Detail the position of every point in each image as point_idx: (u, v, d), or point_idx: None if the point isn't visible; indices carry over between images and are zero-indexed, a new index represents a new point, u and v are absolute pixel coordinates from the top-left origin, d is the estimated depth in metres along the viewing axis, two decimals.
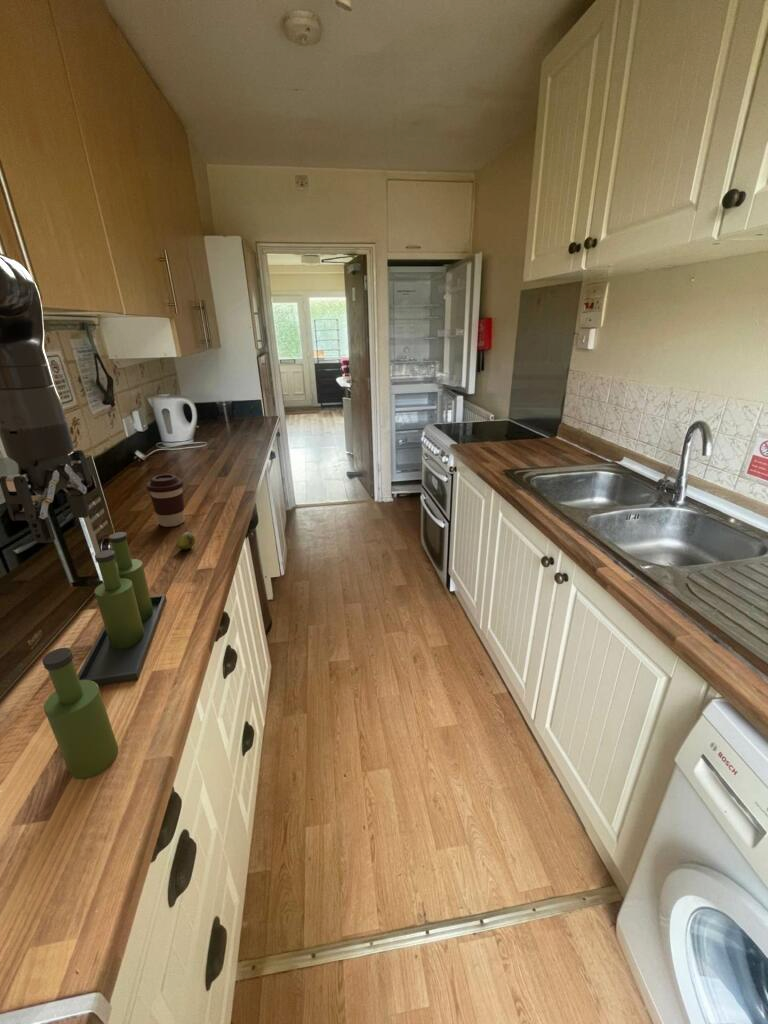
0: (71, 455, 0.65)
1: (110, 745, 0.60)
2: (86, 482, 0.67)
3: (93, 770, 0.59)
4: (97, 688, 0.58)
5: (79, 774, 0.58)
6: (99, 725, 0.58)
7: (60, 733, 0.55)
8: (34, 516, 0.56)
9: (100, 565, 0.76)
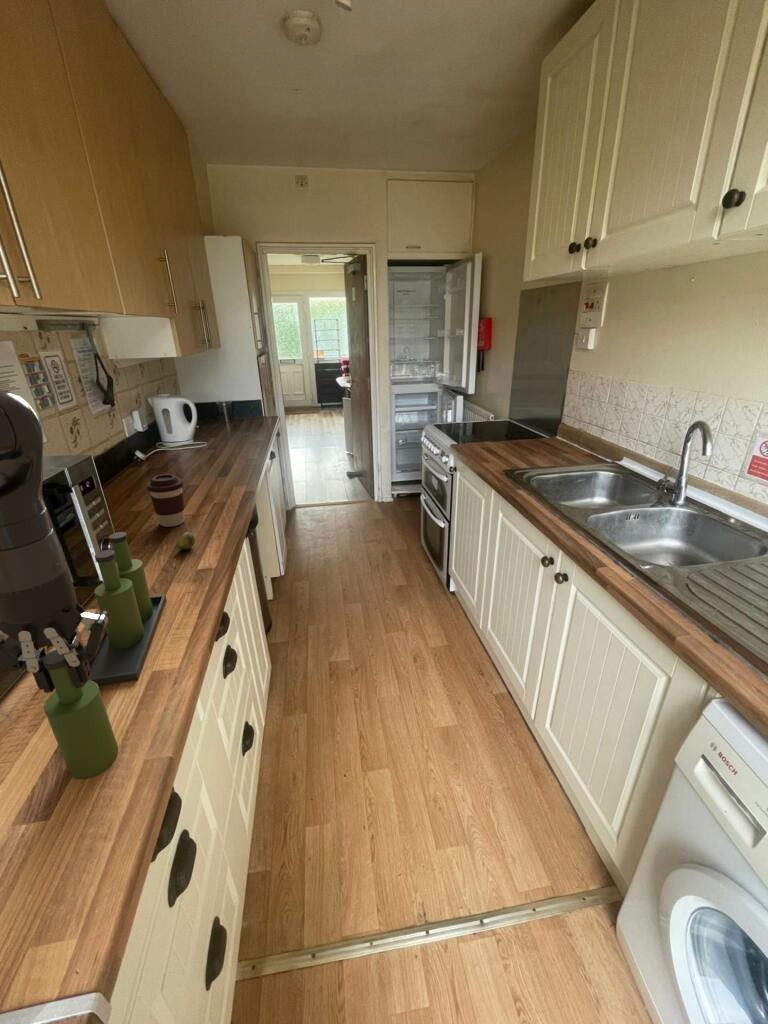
0: (89, 620, 0.53)
1: (110, 745, 0.60)
2: (83, 655, 0.54)
3: (93, 770, 0.59)
4: (97, 688, 0.58)
5: (79, 774, 0.58)
6: (99, 725, 0.58)
7: (60, 733, 0.55)
8: (15, 668, 0.52)
9: (100, 565, 0.76)
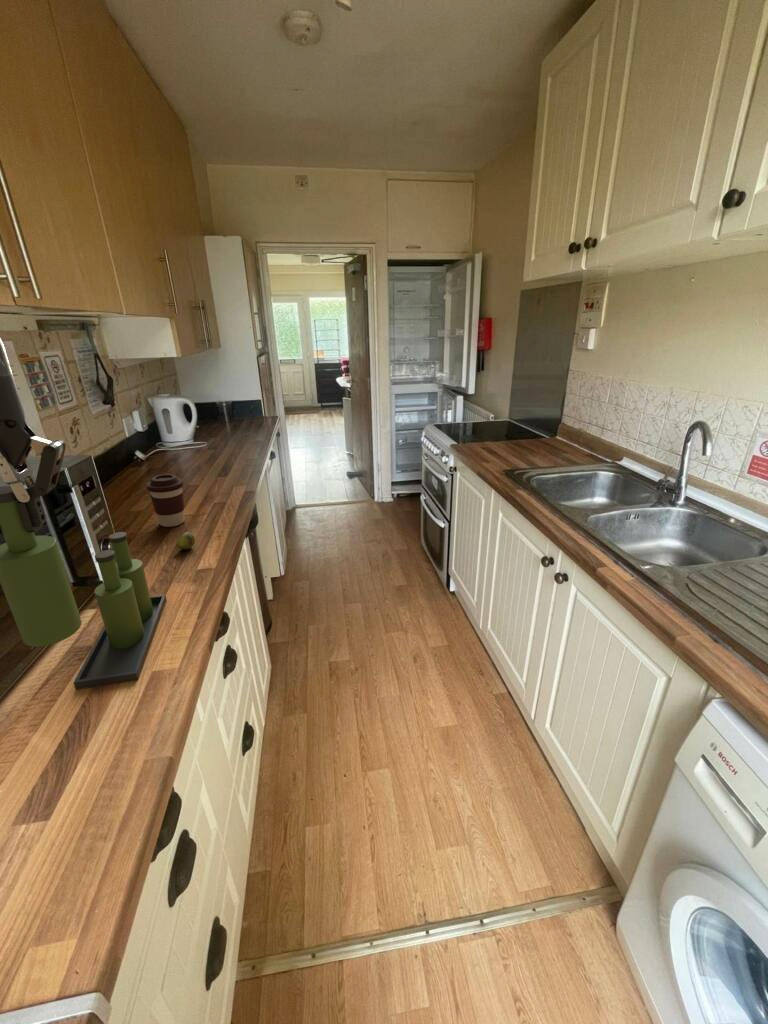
0: (40, 444, 0.45)
1: (71, 613, 0.53)
2: (34, 488, 0.46)
3: (49, 637, 0.51)
4: (54, 541, 0.51)
5: (34, 640, 0.51)
6: (56, 583, 0.50)
7: (8, 584, 0.48)
8: None
9: (100, 565, 0.76)
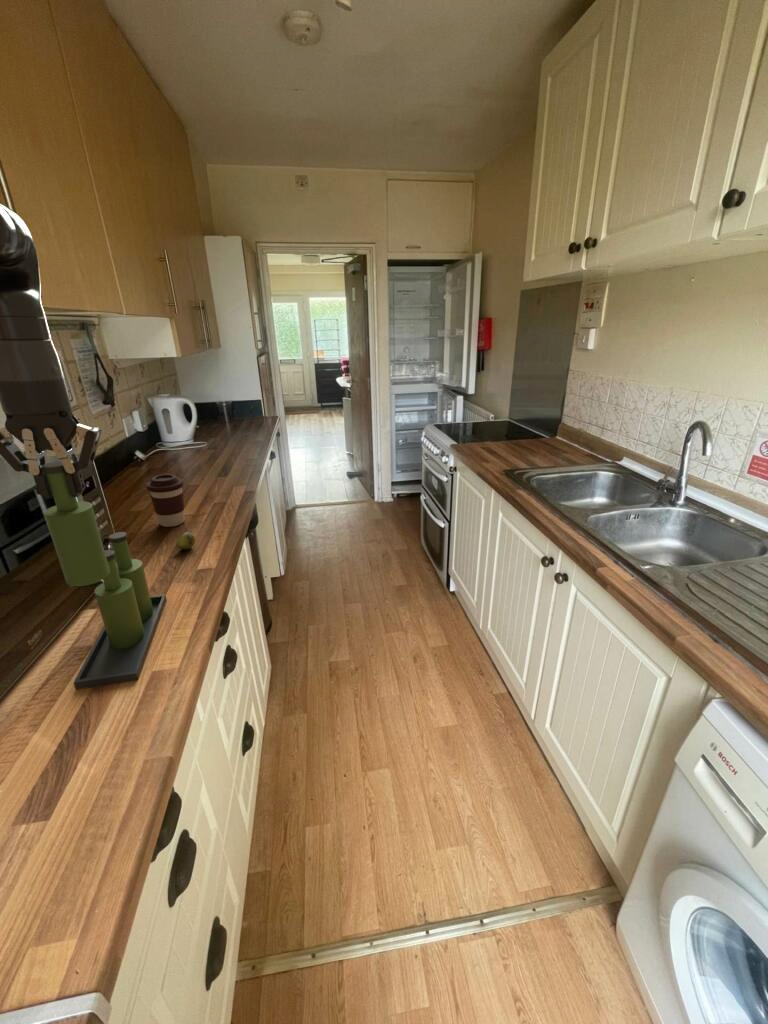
0: (83, 429, 0.61)
1: (103, 561, 0.68)
2: (78, 463, 0.62)
3: (87, 579, 0.67)
4: (90, 505, 0.66)
5: (75, 581, 0.66)
6: (92, 537, 0.66)
7: (58, 536, 0.63)
8: (18, 468, 0.60)
9: None
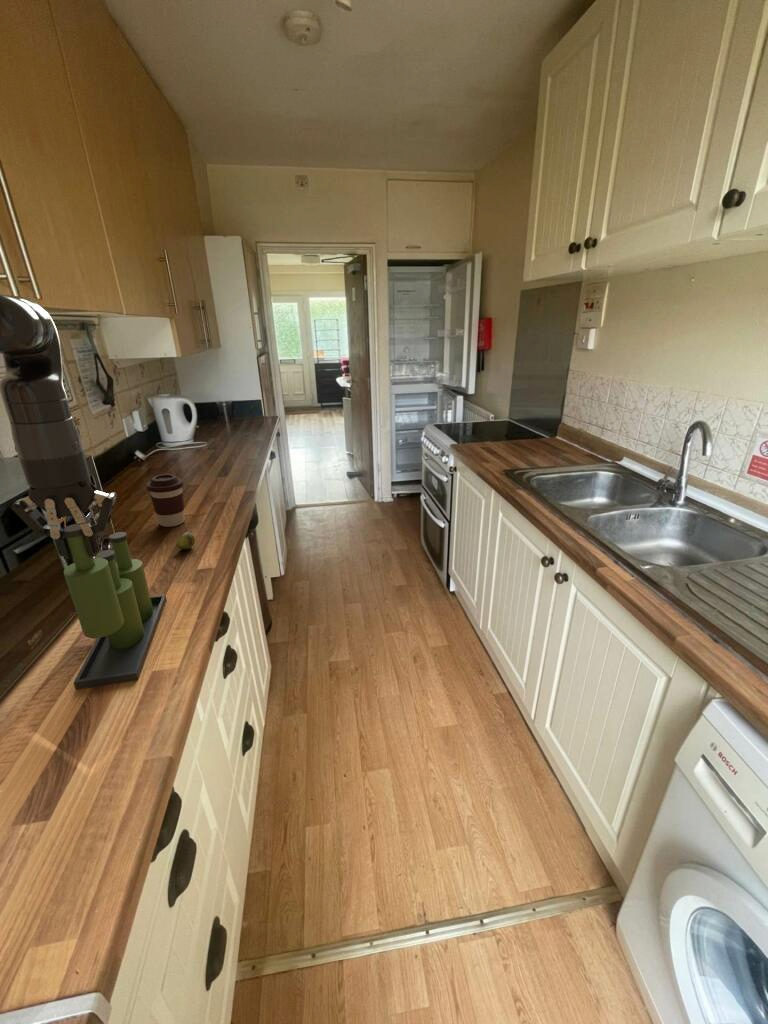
0: (101, 496, 0.65)
1: (117, 613, 0.73)
2: (96, 527, 0.66)
3: (103, 631, 0.71)
4: (106, 562, 0.70)
5: (92, 633, 0.71)
6: (108, 592, 0.70)
7: (76, 593, 0.67)
8: (41, 533, 0.64)
9: None
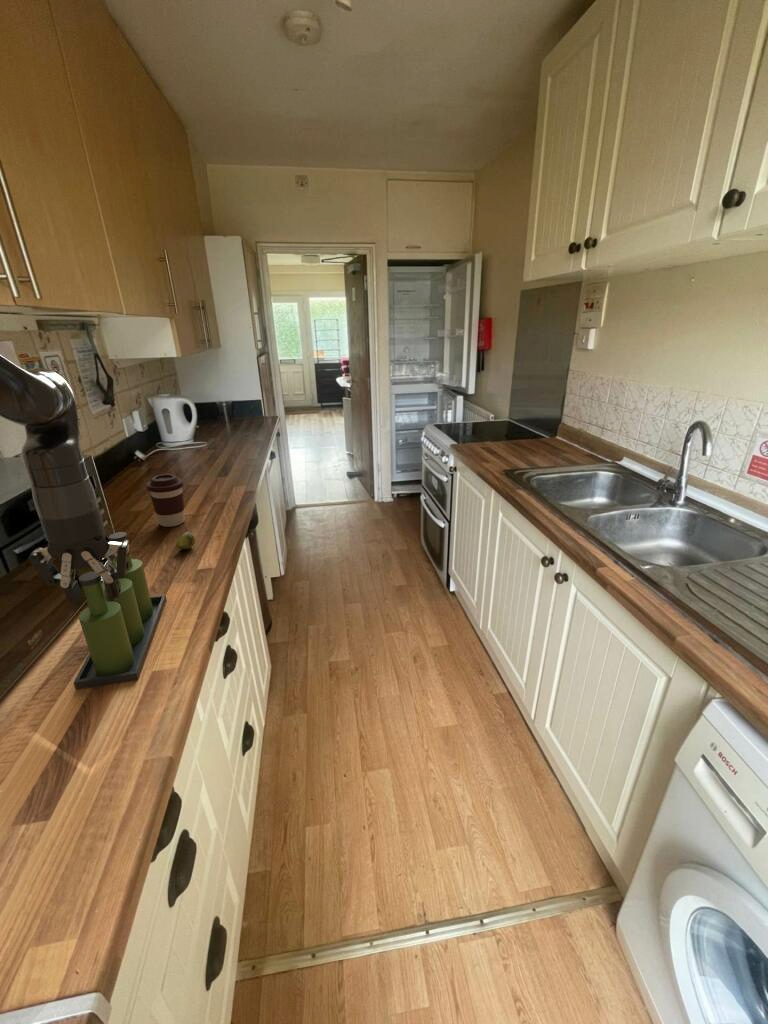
0: (115, 546, 0.68)
1: (129, 654, 0.76)
2: (116, 574, 0.70)
3: (115, 671, 0.74)
4: (119, 606, 0.74)
5: (105, 674, 0.74)
6: (121, 635, 0.74)
7: (91, 638, 0.71)
8: (51, 583, 0.67)
9: None
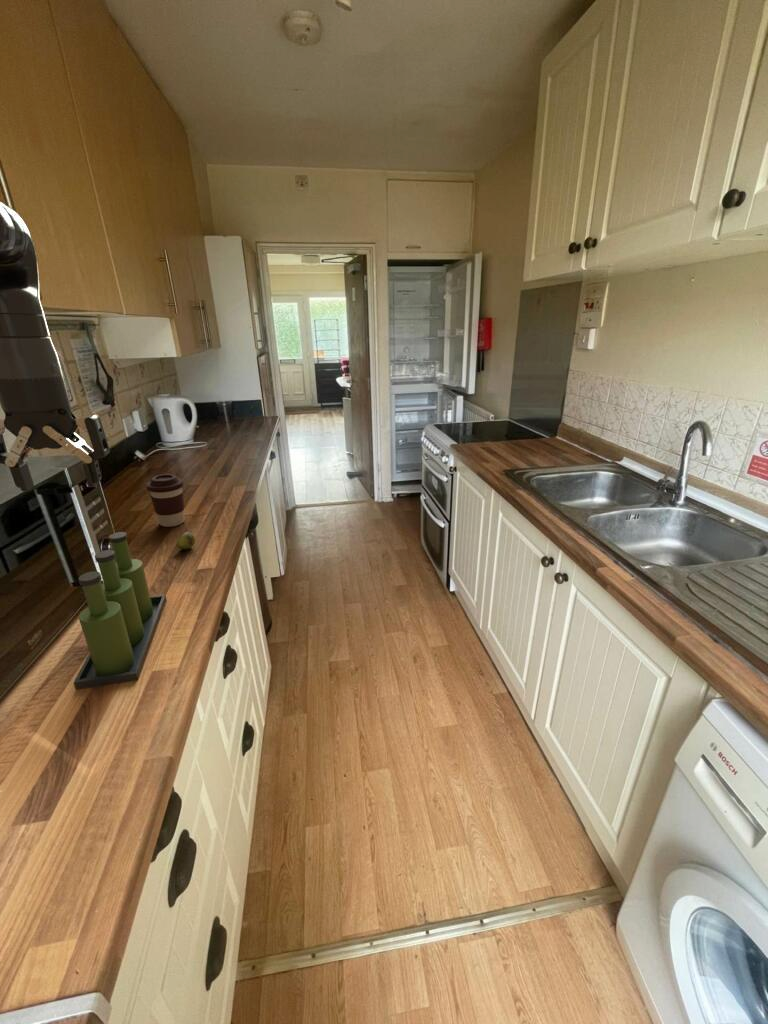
0: (81, 420, 0.60)
1: (129, 654, 0.76)
2: (95, 453, 0.62)
3: (115, 671, 0.74)
4: (119, 606, 0.74)
5: (105, 674, 0.74)
6: (121, 635, 0.74)
7: (91, 638, 0.71)
8: None
9: (100, 565, 0.76)
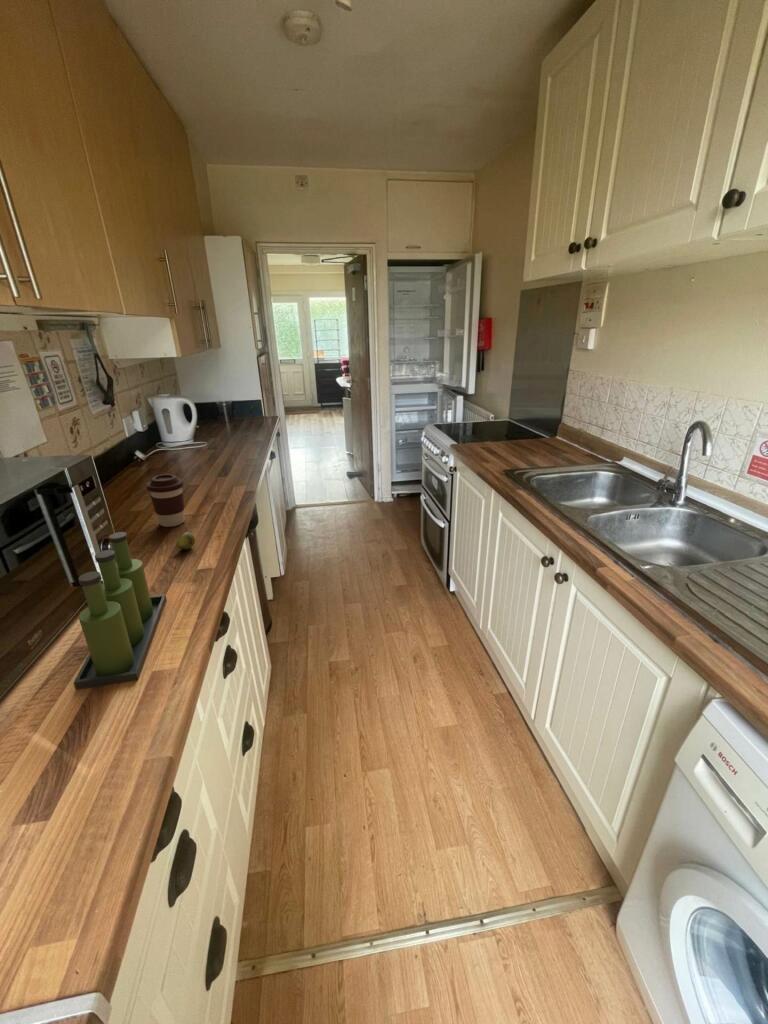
0: None
1: (129, 654, 0.76)
2: None
3: (115, 671, 0.74)
4: (119, 606, 0.74)
5: (105, 674, 0.74)
6: (121, 635, 0.74)
7: (91, 638, 0.71)
8: None
9: (100, 565, 0.76)
